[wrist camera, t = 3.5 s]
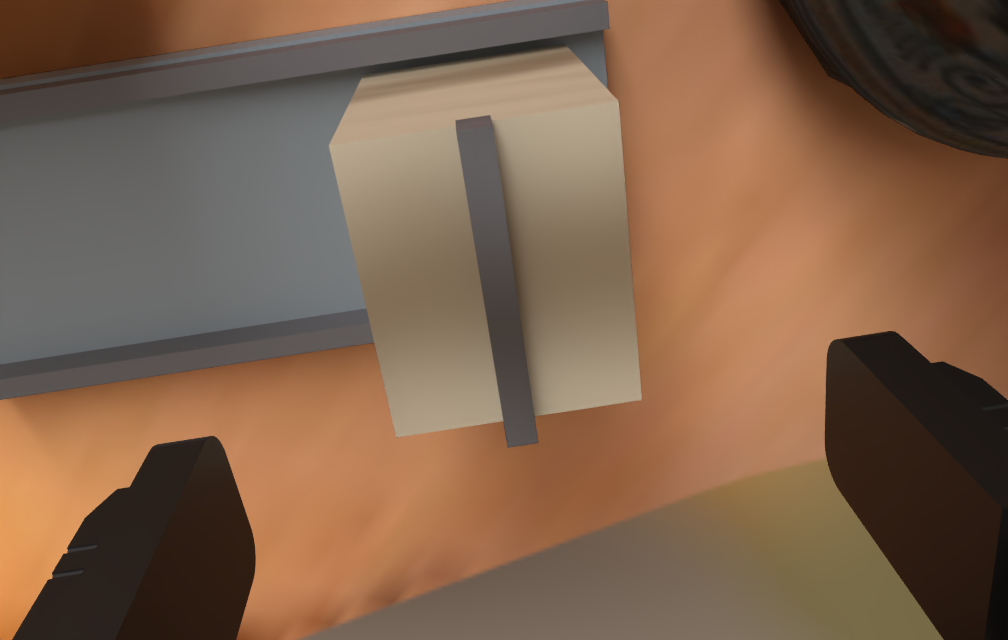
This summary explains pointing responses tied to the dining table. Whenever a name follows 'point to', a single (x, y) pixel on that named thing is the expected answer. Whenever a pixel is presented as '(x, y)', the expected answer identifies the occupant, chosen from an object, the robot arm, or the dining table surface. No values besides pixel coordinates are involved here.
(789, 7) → the beer stein
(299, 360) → the dining table surface
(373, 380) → the dining table surface
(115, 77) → the rail
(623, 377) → the carriage
